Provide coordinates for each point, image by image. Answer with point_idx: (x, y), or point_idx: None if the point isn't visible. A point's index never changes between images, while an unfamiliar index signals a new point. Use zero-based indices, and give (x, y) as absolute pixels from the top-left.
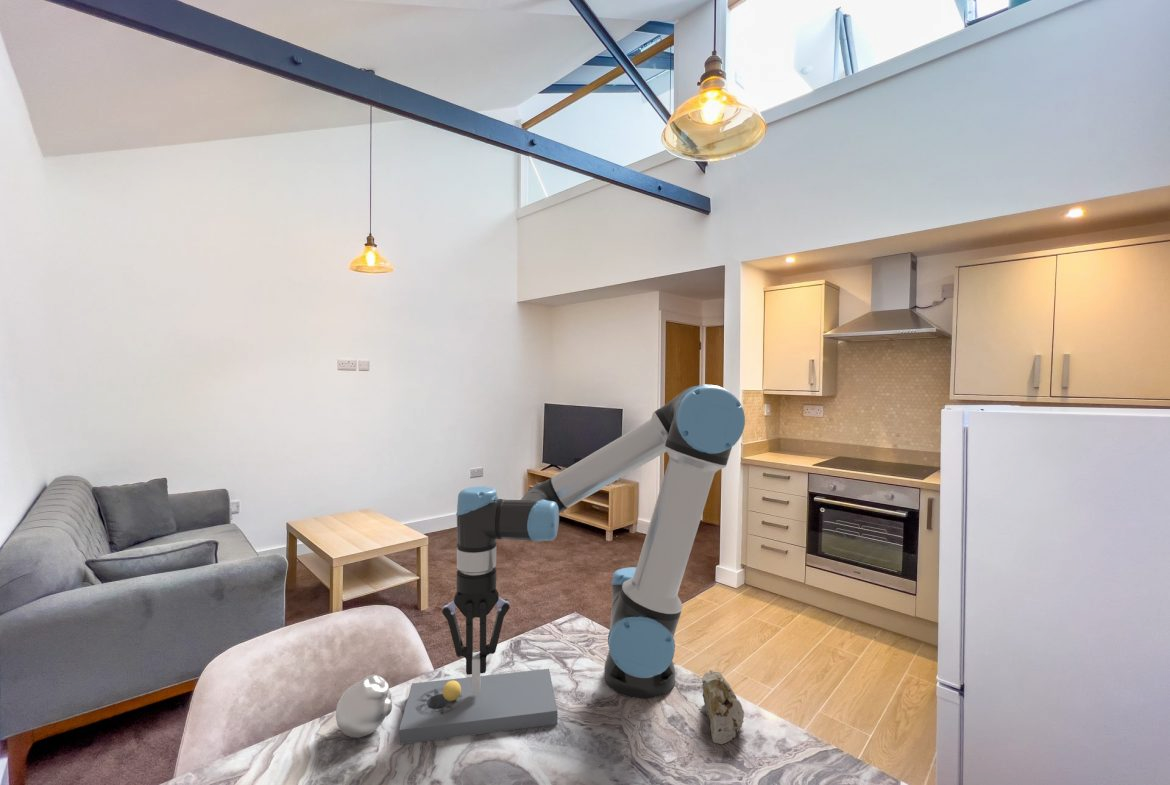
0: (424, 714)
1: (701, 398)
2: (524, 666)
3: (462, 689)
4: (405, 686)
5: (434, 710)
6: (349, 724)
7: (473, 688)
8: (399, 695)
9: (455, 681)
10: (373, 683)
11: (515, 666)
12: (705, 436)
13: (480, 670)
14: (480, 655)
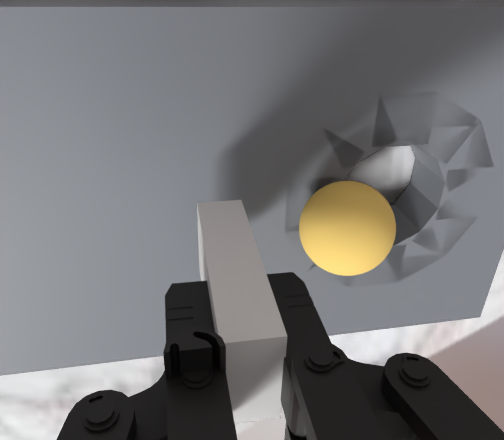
0: (461, 111)
1: None
2: (19, 425)
3: (282, 269)
4: (466, 331)
5: (414, 134)
6: None
7: (236, 214)
8: (490, 289)
9: (342, 262)
10: None
11: (61, 424)
12: None
13: (205, 293)
14: (219, 372)
